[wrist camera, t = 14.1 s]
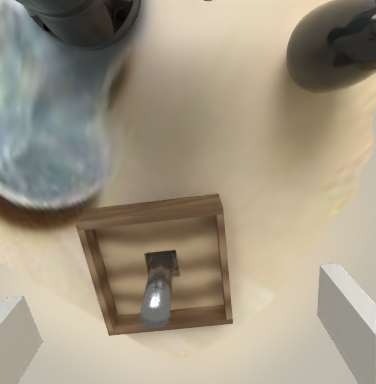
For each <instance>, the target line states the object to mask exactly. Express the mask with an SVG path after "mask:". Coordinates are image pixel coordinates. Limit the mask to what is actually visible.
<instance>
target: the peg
mask: <svg viewBox="0 0 376 384" xmlns="http://www.w3.org/2000/svg"><path fill="white" fill-rule="evenodd" d="M174 258H175V256H174V253H173V252H172V251H171V250H169V251H160V252H154V253H153V257H152V261H151V266H150V270H149V275H148V279H147V284H146V289H145V293H144V298H143V302H142V307H141V311H140V321H141V322H142V323H143V324H144V325H145V326H146V327H149V328H153V329H158V328H162V327H164V326H165V325H167V323H168V322H169V319H170V308H171V295H172V283H173V270H174Z"/></svg>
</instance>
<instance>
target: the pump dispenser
mask: <svg viewBox="0 0 376 384" xmlns="http://www.w3.org/2000/svg"><path fill="white" fill-rule="evenodd" d="M287 66H288V70H289V73H290V75H291V77H292V78H293V80H294V81H295V83H296V84H297V85H298V86H300V87H301V88H302V89H304V90H306V91H309V92H312V93H319V94H323V93H332V92H336V91H340V90H343V89H346V88H349V87H351V86H354V85H356V84H358V83H360V82H362V81H364V80H365V79H367V78H369V77H370V76H372V75H373V74H375V73H376V0H332V1H329V2H327V3H324V4H322V5H320V6H318V7H317V8H315V9H313V10H312V11H311V12H309V13H308V14H307V15H306V16H304V17H303V18H302V20H301V21H300V22H299V23H298V24H297V26H296V27H295V29H294V31H293V32H292V34H291V37H290V39H289V43H288V47H287Z"/></svg>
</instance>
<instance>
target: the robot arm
mask: <svg viewBox="0 0 376 384" xmlns="http://www.w3.org/2000/svg"><path fill="white" fill-rule="evenodd" d="M16 1H17V2H19V3H21V4H23V6H24V7H25V9H26V10H27V12H28V13H29V14H30V16H31V17H32V19H33V20H34V21H35V22H36V23H37V24H38V25H39V26H40V27H41V28H42V29H43V30H44V31H45V32H46V33H47V34H49V35H50V36H51V37H53V38H54V39H56V40H58V41H60V42H62V43H64V44H66V45H68V46H71V47H74V48H77V49H82V50H98V49H103V48H106V47H108V46H110V45H112V44H114V43H116V42H117V41H119V40H120V39H121V38H122V37H123V36H124V35H125V34H126V33H127V32H128V30H129V29H130V27H131V26H132V24H133V22H134V20H135V18H136V15H137V12H138V9H139V5H140V0H16ZM204 1H212V0H204ZM317 315H318V317H319V319H320V320H321V322H322V324H323V325H324V327H325V329H326V330H327V332H328V334H329V335H330V337H331V339H332V340H333V342H334V343H335V345H336V347H337V349H338V350H339V352H340V354H341V355H342V357H343V359H344V360H345V362H346V364H347V365H348V367H349V369H350V370H351V372H352V374H353V375H354V377H355V379H356V380H357V382H358V384H376V304H375V303H374V302H373V301H372V300H371V299H370V297H369V296H368V295H367V294H366V293H365V292H364V291H363V290H362V289H361V288H360V287H359V285H358V284H357V283H356V282H355V281H354V280H353V279H352V278H351V277H350V276H349V275H348V273H347V272H346V271H345V270H344V269H343V268H342V267H341V266H340V265H339V264H338V263H335V264H325V265H320V275H319V293H318V312H317ZM42 342H43V341H42V339H41V337H40V334H39V332H38V329H37V327H36V324H35V322H34V320H33V317H32V315H31V312H30V310H29V308H28V305H27V303H26V301H25V298H24V296H20V297H9V298H6V300H5V301H4V302H3V303H2V304H1V305H0V384H18V382H19V381H20V379H21V377H22V376H23V374H24V372H25V371H26V369H27V367H28V365H29V364H30V362H31V360H32V359H33V357H34V355H35V354H36V352H37V350H38V349H39V347H40V345H41V344H42Z"/></svg>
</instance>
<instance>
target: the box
mask: <svg viewBox="0 0 376 384" xmlns="http://www.w3.org/2000/svg"><path fill="white" fill-rule="evenodd" d="M76 227H77V231H78V234H79V237H80V241H81V244H82V247H83V251H84V254H85V257H86V261H87V264H88V267H89V271H90V274H91V277H92V281H93V284H94V287H95V291H96V294H97V297H98V301H99V304H100V307H101V311H102V314H103V317H104V321H105V324H106V327H107V330H108V334H109V336H110V335H120V334H130V333H141V332H151V331H161V330H171V329H182V328H192V327H202V326H213V325H223V324H233V319H232V308H231V296H230V284H229V273H228V261H227V250H226V238H225V226H224V215H223V207H222V204H221V201H220V198H219V194H214V195H205V196H197V197H188V198H179V199H171V200H162V201H154V202H145V203H137V204H128V205H120V206H111V207H102V208H94V209H89V211H88V212H87V213H86V214H85V215H84V216H83V217H82V219H81V220H80V221H79V222H78V223H77V224H76ZM169 250H176V254H177V260H178V267H179V268H174V270H173V283H172V295H171V308H170V319H169V322H168V323H167V325H165V326H164V327H162V328H158V329H153V328H149V327H146V326H145V325H144V324H143V323H142V322H141V321H140V311H141V307H142V302H143V298H144V293H145V289H146V284H147V279H148V275H149V270H150V262H149V257H148V253H151V252H160V251H169Z"/></svg>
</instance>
